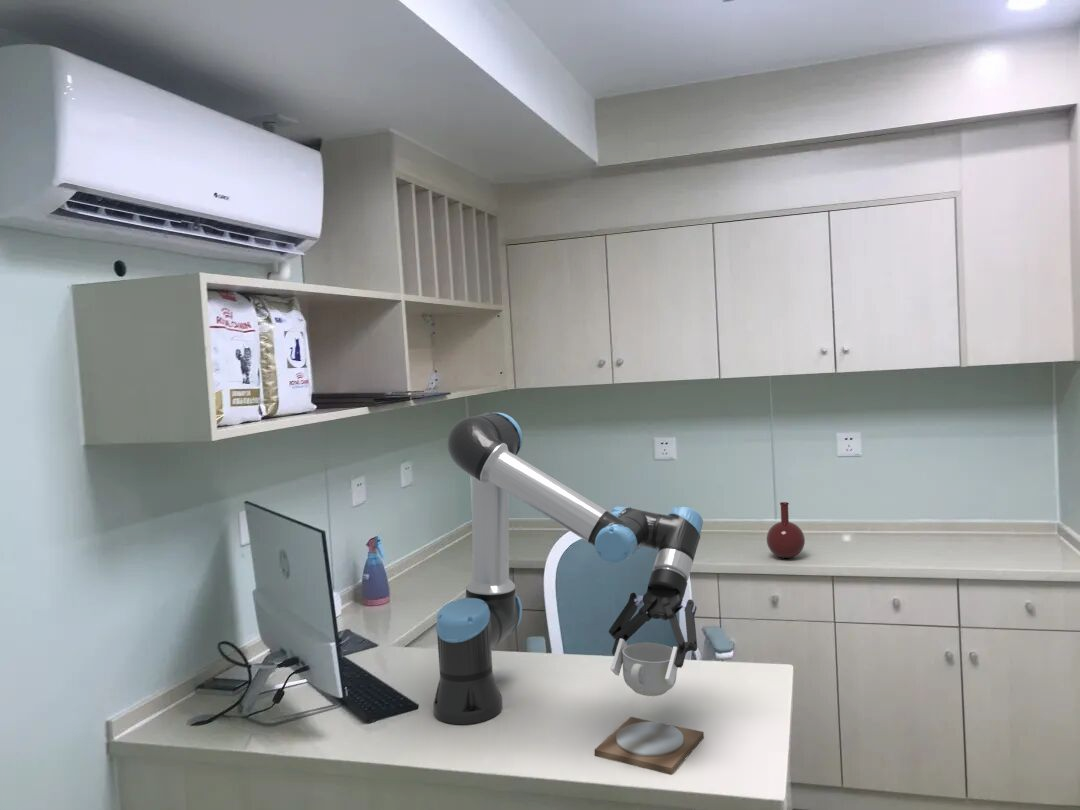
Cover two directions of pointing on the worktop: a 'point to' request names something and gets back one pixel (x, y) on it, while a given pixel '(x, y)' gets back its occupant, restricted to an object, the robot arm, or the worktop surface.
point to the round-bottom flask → (785, 536)
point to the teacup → (647, 667)
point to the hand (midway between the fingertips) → (641, 677)
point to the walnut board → (650, 744)
